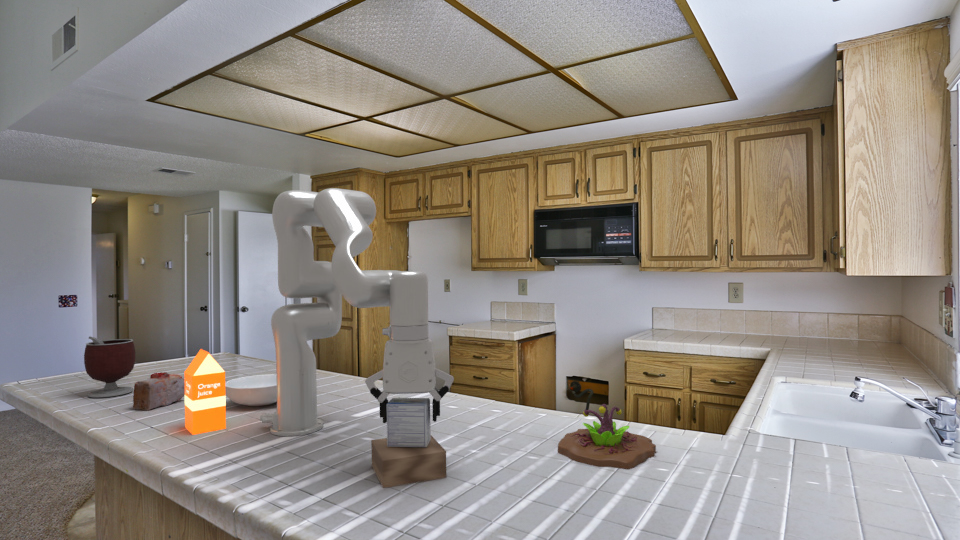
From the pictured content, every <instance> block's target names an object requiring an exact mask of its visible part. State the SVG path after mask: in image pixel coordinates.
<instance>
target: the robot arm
mask: <svg viewBox="0 0 960 540" xmlns="http://www.w3.org/2000/svg"><path fill="white" fill-rule="evenodd" d="M272 206H273V207H272V210H271V211H272V212H271V213H272V214H271V215H272V224H273V229H274V231H275V232H274V233H275V236H276V240H277V286H278V292H279V293H280V294H281V296H283V297H285V298H286V299H287V298H288V299H312V298H316V302H304V303H303V302H302V303H289V304H286V305H282V306H280V307H278V308H276V310H274V312H273V313H272V316H271V320H270V321H271V322H270V323H271V324H270V325H271V330H272V337H273V341H274V342H273V343H274V347H275V368H276V373H275V374H276V380H277V402H276V411H274V412H273V413H270V412H262V413H260V417H259V419H260V422H261V424H268V423H271V424H272V425H271V426H270V428H269V429H270V431H269V432H270V433H271V434H272V435H274V436H277V437H298V436H304V435H310V434H313V433H315V432H317V431H318V432H319V430H321V429H322V428H323V427H324V420H323V419H322V418H321V419H320V418H318V414H317V413H318V409H317V408H318V404H317V402H318V399H317V395H318V392H317V390H318V389H317V357H316V355H315V352H314V351H313V349H312V348H311V347H310V345H309V343H308V341H314V340H319V339H327V338H332V337H334V336H336V335H337V334H338V333H339V332H340V330H341V326H342V322H343V321H342V320H343V319H342V318H343V298H344V300H345V301H346V302H347V303H348V304H349V305H350V306H352V307H354V308H358V309H368V308H379V307H383V308H385V307H389V326H388V327H383V328H382V336H387V337H388V338H389V340H387V341H385V345H384V352H383V353H384V354H383V364H382V369H381V370H379V371H377V372H376V373H374V374H372V375H369V377H367V378H366V379H364V382H365V385H366V387H367V388H368V391H369V392H370V394H371V395H372V396H373V397H374V398H375V399H376V400H377V402H378V403H379V418H380V419H381V418H382V424H387V403H388V402H389V399H388V397H389V395H392V394H393V395H395V394H396V395H398V394H399V395H401V394H402V395H406V394H409V395H410V394H428V393H429V394H430V396H431V397H433V398H432V405H431V406H432V421H433V422H437V420H438V419H437V418H438V417H440V416H441V400H442V398H443V397H444V396H446V394H447V393H448V392H449V391H450V388H451V387H452V385H453V382H454V380H455V379H454V376H453V375H451V374H449V373H447V372H446V371H443V370H441V369H439V368H437V367H436V360H435V359H436V358H435V349H434V345H433V340H432V339H430V338H429V286H428V285H429V280H428V276H427V274H426V273H425V272H423V271H419V270H402V271H401V270H398V269H397V270H396V269H394V270H392V269H389V270H387V269H373V270H372V269H369V270H365V269H364V270H363V269H361V268H360V267H359V266H358V264H357V262H356V261H355V259H354V258H355V257H357V256H358V255H360V254H362V253H364V251H366V250H367V249H368V248H369V246H371V244H372V242H373V238H374V237H373V231H372V229H371V228H370V225H371V224H372V223H373V222H374V221H375V218H376V215H377V207H376V203H375V201H374V199H373V198H372V197H371V195H369V194H368V193H367V192H364V191H361V190H353V189H344V188H338V187H335V188H334V187H331V188H330V187H329V188H325V189H323V190H321V191H319V192H317V191H311V190H310V191H309V190H303V189H302V190H300V189H298V190H297V189H292V190H286V191H282V192H281V193H280V194H278V195H277V197H276V198H275V200H274V202H273V205H272ZM304 226H308V227H318V228H319V227H320V228H324V230H325V231H326V233H327V235H328V236H329V238H330V239H331V242H332V243H333V245H334V246H335V249H334V251H333V254H332V257H331V261H327V260H315V257H314V256H315V255H314V252H315V251H314V250H315V249H314V248H315V247H314V246H315V245H314V242H313V239H312V237H311V236H310V233H309V232H308V231H307V230H306V229H305V227H304ZM436 377H437V378H439V379H441V380H443V381H444V383H443V386H442V387H441V388H440V389H438V388H437V387H436V381H437V380H436V379H437V378H436ZM381 379H382V389H383V390H382V391H381V390H380V389H379V388H378V387H377V386H376V383H375V382H376V381H379V380H381Z"/></svg>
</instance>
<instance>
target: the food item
mask: <svg viewBox="0 0 960 540" xmlns="http://www.w3.org/2000/svg"><path fill="white" fill-rule="evenodd" d="M132 392H133V397H132V403H133V404H132V409H134V410H136V411H138V410H139V411H150V410H152V409H156V408H159V407H161V406H162V407H163V406H169V405H172V404H173V403H175V402H178V401H180V400H182V399H183V397H184V398H185V396H184V395H185V382H184V378H183V376H182V375H181V374H178V373H168V372H154V373H152V374H151V375H150V377H149V378H147V379H143V380H139V381H136V382H135V383H134V386H133V391H132Z"/></svg>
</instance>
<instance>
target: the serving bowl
mask: <svg viewBox="0 0 960 540" xmlns="http://www.w3.org/2000/svg"><path fill="white" fill-rule="evenodd" d="M225 392H226V398H228V400H230V401H231V402H233V403H234V404H239V405H244V406H249V407H263V406H269V405H272V404H275V403H277V380H276V373H272V374H271V373H268V374H267V373H266V374H256V375H248V376H243V377H242V376H241V377H240V376H239V377H236V378H232V379H229V380H227V381H225Z"/></svg>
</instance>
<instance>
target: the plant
mask: <svg viewBox="0 0 960 540" xmlns="http://www.w3.org/2000/svg"><path fill="white" fill-rule="evenodd" d="M598 411H599V413H598V412H597V411H594V410H591V409H584V411H583V412H582V415H583V417H589V415H590V414H593V415H594V416H595V417H596V418H597V419H598V421H599V422H600V423H598V421H595V420H593V421H592V424H593V425H591V424H589V423H585V422H582V425H583V426H584V427H585V428H577V430H576V431H572V432H568V433H566V434H565V435H564V436H563V438H561V439H560V441H559V442H558V445H557V454H559V455H562V456H565V457H567V458H568V459H569V460H572V461H574V462H576V463H580V464H584V465H588V466H589V465H590V466H593V467H598V468H601V467H602V468H604V467H606V468H617V469H623V470H630V469H634V468H635V467H637V466H638V465H639V464H642V463H644V462H645V461H646V460H648V459H649V458H654V456H655V455H656V452H657V446H656V444H654V443H653V440H652V438H649V437H647V436H644V435H641V434H636V433H631V432H629V431H628V429H630V425H623V426H620V427H619V428H618V429H617V424H616V421H613V416H614V412H615V413H616V415H619V416H620V415H622V413H623V412H622V409H621V408H619V407H617V406H613V407H612V408H611V409H610V411H609V409H608V406H607V404H606V403H603V404H602V405H600V406H599V408H598ZM600 414H602V415H603V417H602V416H601V415H600ZM655 457H656V456H655Z"/></svg>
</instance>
